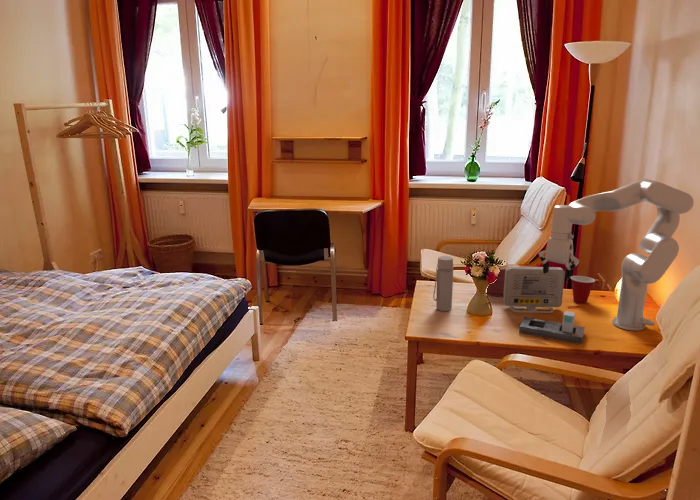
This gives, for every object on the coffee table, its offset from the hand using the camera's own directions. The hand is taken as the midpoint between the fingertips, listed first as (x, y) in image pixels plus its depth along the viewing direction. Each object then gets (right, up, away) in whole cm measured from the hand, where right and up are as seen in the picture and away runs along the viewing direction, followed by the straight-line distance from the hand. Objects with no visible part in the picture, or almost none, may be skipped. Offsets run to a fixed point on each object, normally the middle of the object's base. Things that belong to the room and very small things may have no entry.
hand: (556, 275), depth 213 cm
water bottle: (-43, -17, +27) cm, 54 cm away
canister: (-12, -11, +48) cm, 50 cm away
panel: (-2, -24, 0) cm, 24 cm away
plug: (+3, -25, -3) cm, 25 cm away
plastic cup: (+25, -14, +34) cm, 44 cm away
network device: (-1, -17, +26) cm, 31 cm away
